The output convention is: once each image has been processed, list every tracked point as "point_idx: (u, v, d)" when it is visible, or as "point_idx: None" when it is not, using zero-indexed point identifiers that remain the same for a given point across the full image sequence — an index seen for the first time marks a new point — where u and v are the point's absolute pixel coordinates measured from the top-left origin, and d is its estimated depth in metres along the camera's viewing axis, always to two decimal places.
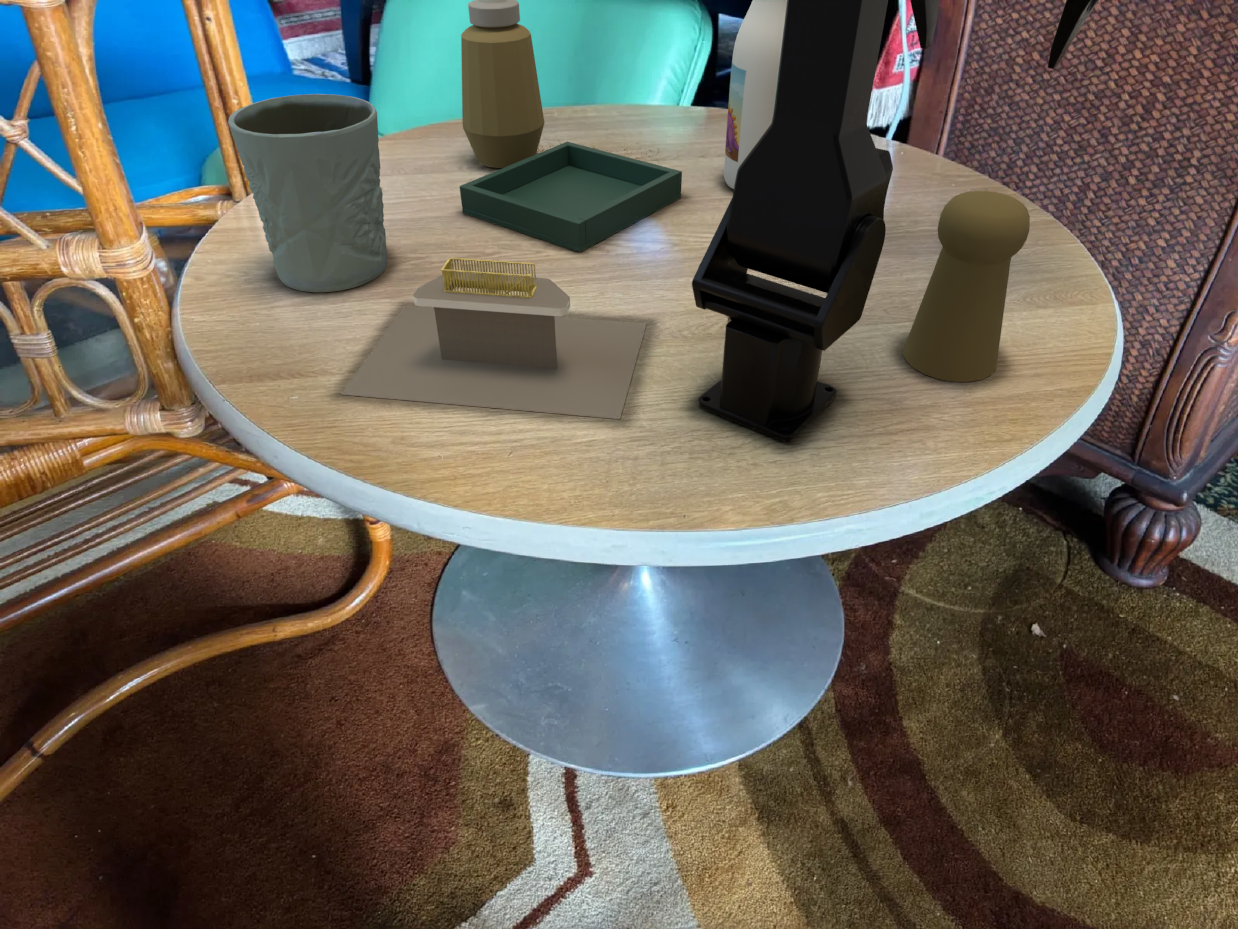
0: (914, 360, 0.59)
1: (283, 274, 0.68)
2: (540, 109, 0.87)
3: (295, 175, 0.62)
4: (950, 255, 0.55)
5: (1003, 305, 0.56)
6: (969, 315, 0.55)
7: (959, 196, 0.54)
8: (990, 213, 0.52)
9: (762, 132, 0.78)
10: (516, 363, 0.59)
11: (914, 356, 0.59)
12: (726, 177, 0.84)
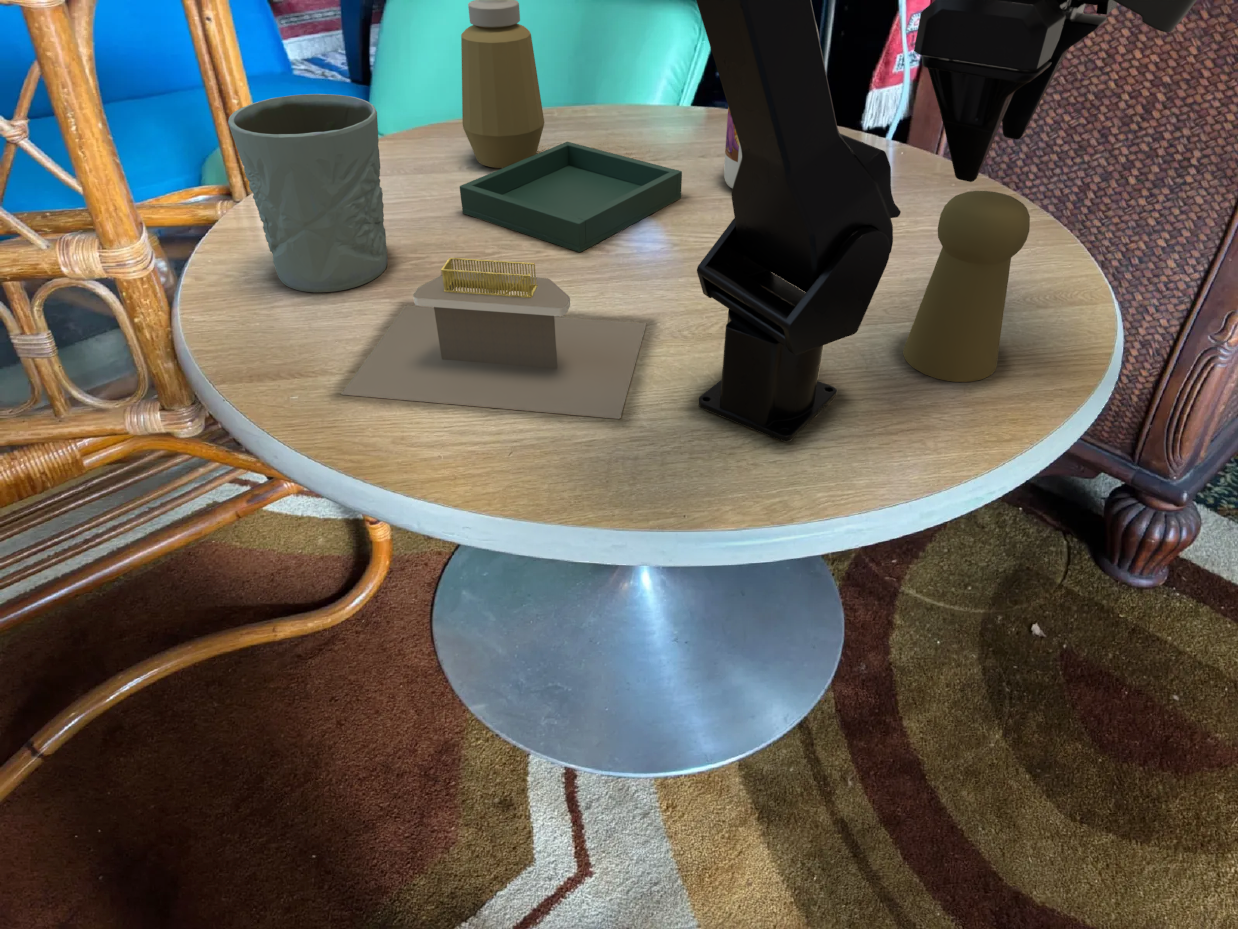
0: (914, 360, 0.59)
1: (283, 274, 0.68)
2: (540, 109, 0.87)
3: (295, 175, 0.62)
4: (950, 255, 0.55)
5: (1003, 305, 0.56)
6: (969, 315, 0.55)
7: (959, 196, 0.54)
8: (990, 213, 0.52)
9: None
10: (516, 363, 0.59)
11: (914, 356, 0.59)
12: (726, 177, 0.84)
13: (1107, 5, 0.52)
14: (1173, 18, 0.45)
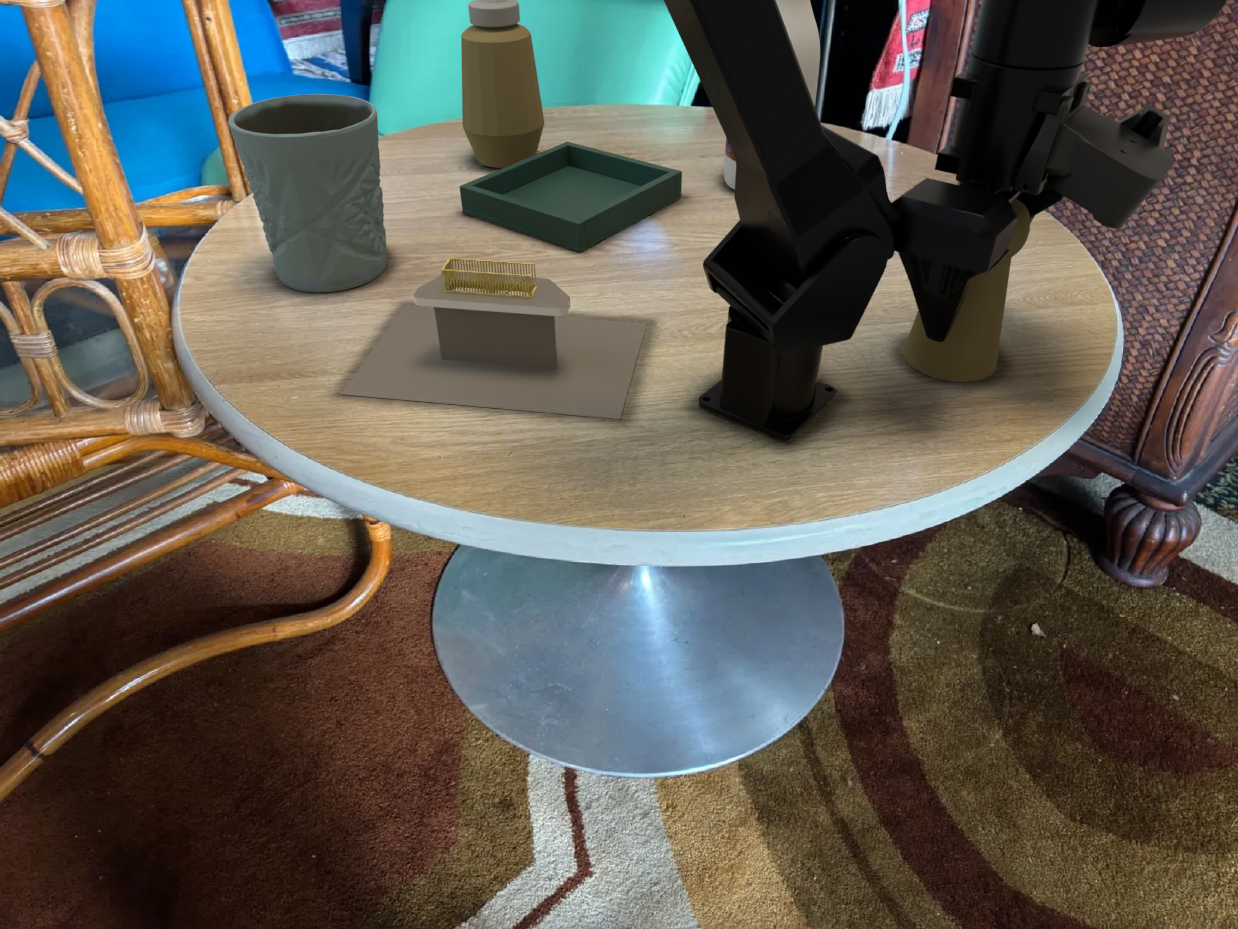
0: (914, 360, 0.59)
1: (283, 274, 0.68)
2: (540, 109, 0.87)
3: (295, 175, 0.62)
4: None
5: (1003, 305, 0.56)
6: (969, 315, 0.55)
7: None
8: None
9: None
10: (516, 363, 0.59)
11: (914, 356, 0.59)
12: (726, 177, 0.84)
13: None
14: (1122, 218, 0.47)
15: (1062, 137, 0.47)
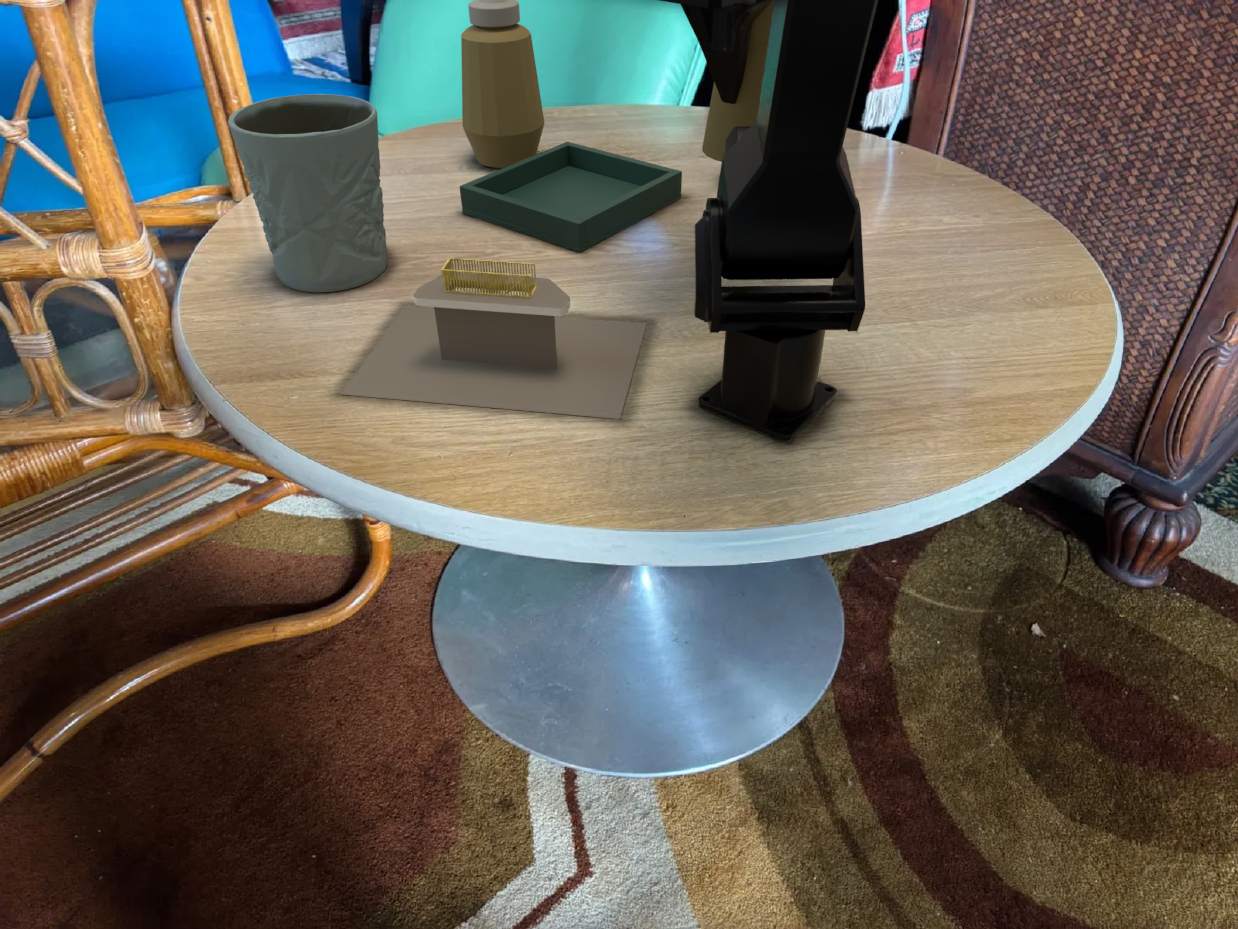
0: (707, 148, 0.64)
1: (283, 274, 0.68)
2: (540, 109, 0.87)
3: (295, 175, 0.62)
4: None
5: None
6: (745, 95, 0.60)
7: None
8: None
9: None
10: (516, 363, 0.59)
11: (707, 144, 0.64)
12: None
13: None
14: None
15: None
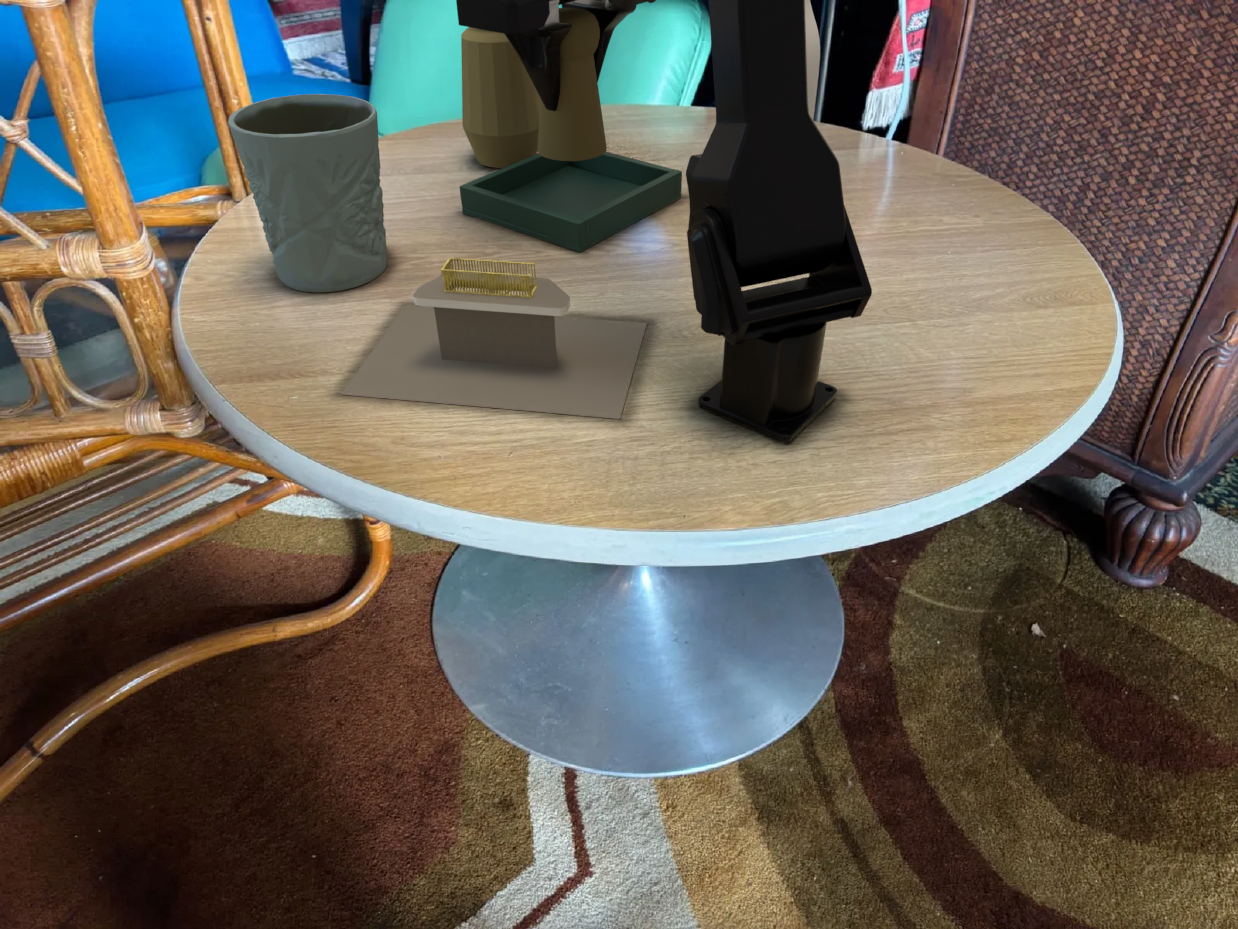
0: (539, 148, 0.77)
1: (283, 274, 0.68)
2: None
3: (295, 175, 0.62)
4: None
5: (593, 98, 0.74)
6: (563, 103, 0.73)
7: None
8: (559, 17, 0.70)
9: None
10: (516, 363, 0.59)
11: (539, 145, 0.77)
12: None
13: None
14: None
15: None
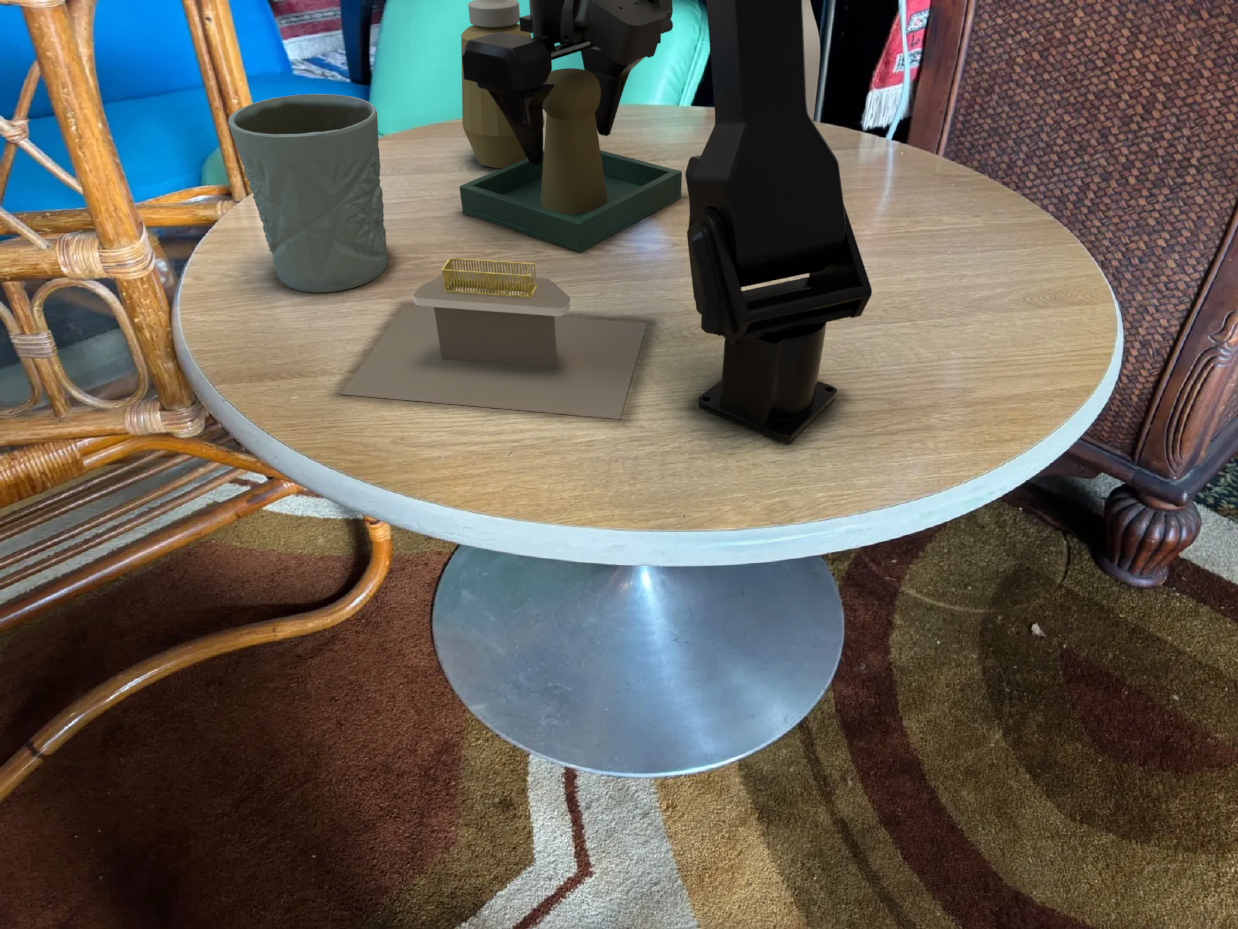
0: (542, 200, 0.79)
1: (283, 274, 0.68)
2: None
3: (295, 175, 0.62)
4: (547, 114, 0.75)
5: (594, 154, 0.77)
6: (565, 160, 0.76)
7: (551, 71, 0.75)
8: (561, 79, 0.73)
9: None
10: (516, 363, 0.59)
11: (542, 197, 0.79)
12: None
13: None
14: (624, 56, 0.67)
15: None
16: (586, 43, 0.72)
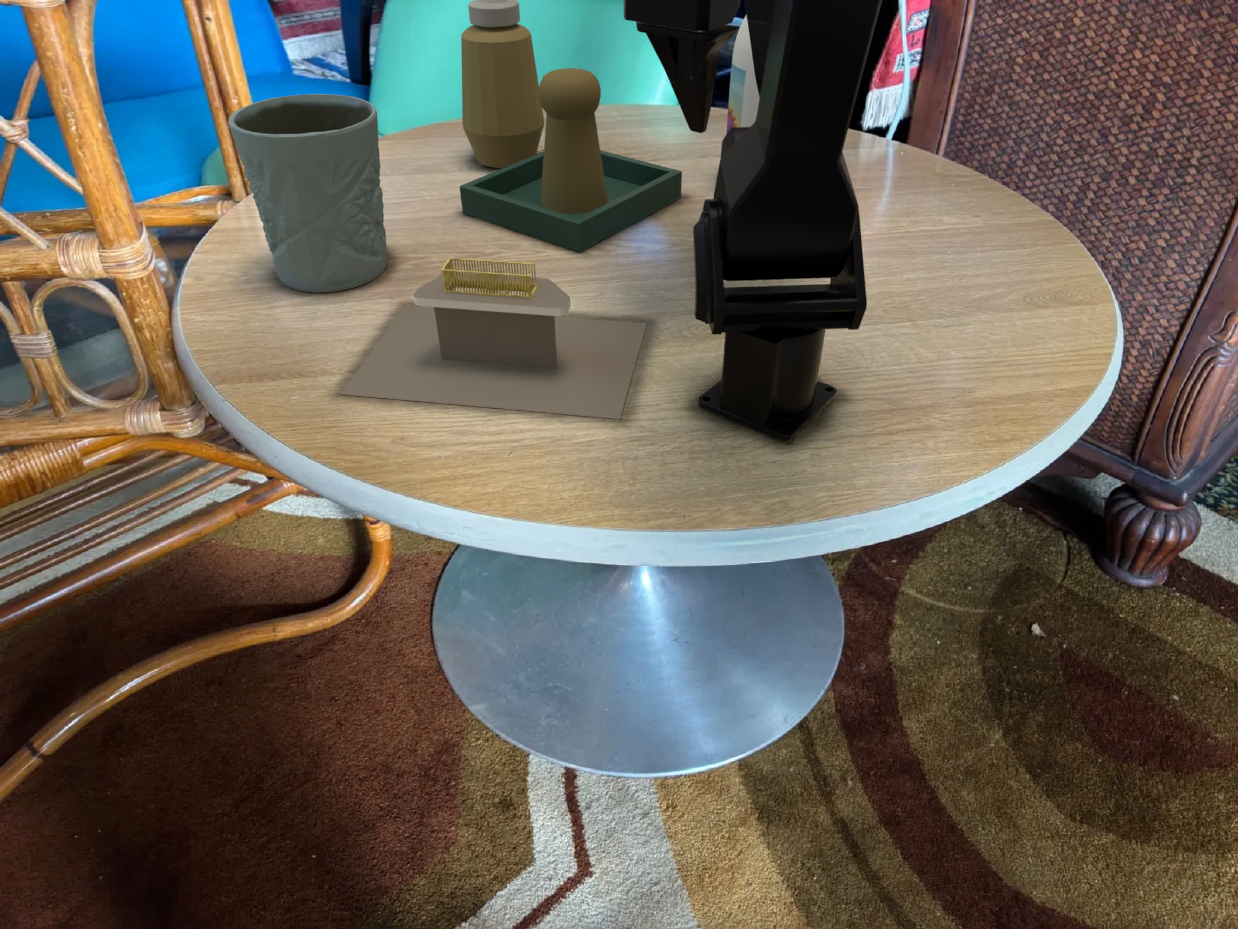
0: (542, 200, 0.79)
1: (283, 274, 0.68)
2: (540, 109, 0.87)
3: (295, 175, 0.62)
4: (547, 114, 0.75)
5: (594, 154, 0.77)
6: (565, 160, 0.76)
7: (551, 71, 0.75)
8: (561, 79, 0.73)
9: None
10: (516, 363, 0.59)
11: (542, 197, 0.79)
12: None
13: None
14: None
15: None
16: None
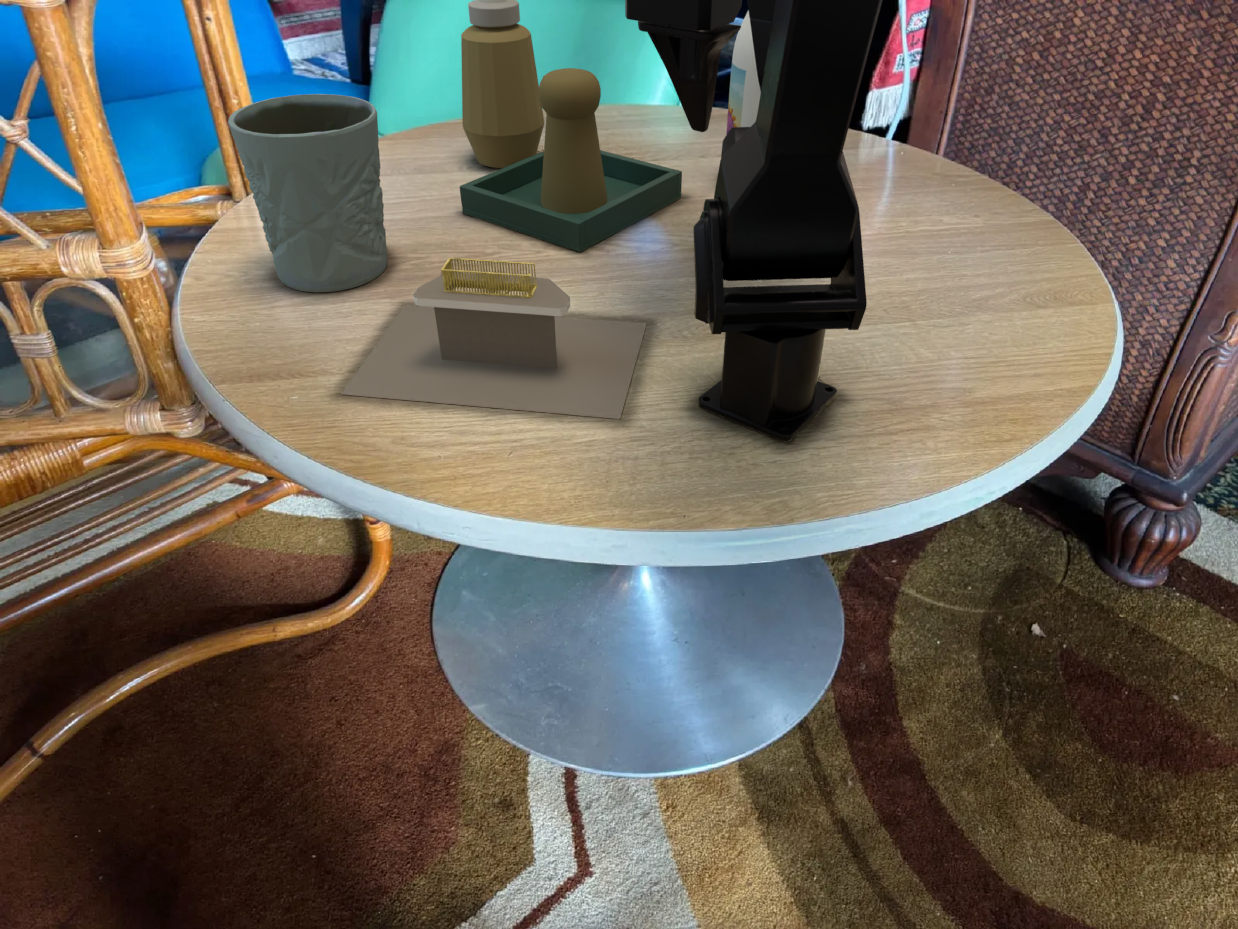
0: (542, 200, 0.79)
1: (283, 274, 0.68)
2: (540, 109, 0.87)
3: (295, 175, 0.62)
4: (547, 114, 0.75)
5: (594, 154, 0.77)
6: (565, 160, 0.76)
7: (551, 71, 0.75)
8: (561, 79, 0.73)
9: None
10: (516, 363, 0.59)
11: (542, 197, 0.79)
12: None
13: None
14: None
15: None
16: None
